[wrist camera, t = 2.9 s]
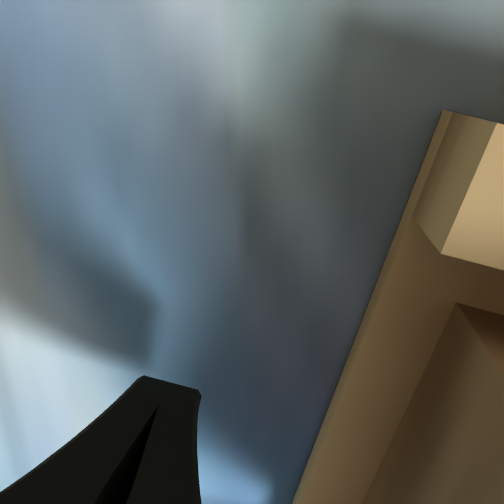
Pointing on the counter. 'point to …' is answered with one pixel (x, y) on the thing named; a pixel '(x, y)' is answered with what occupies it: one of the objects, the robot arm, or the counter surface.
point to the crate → (452, 421)
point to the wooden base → (415, 303)
